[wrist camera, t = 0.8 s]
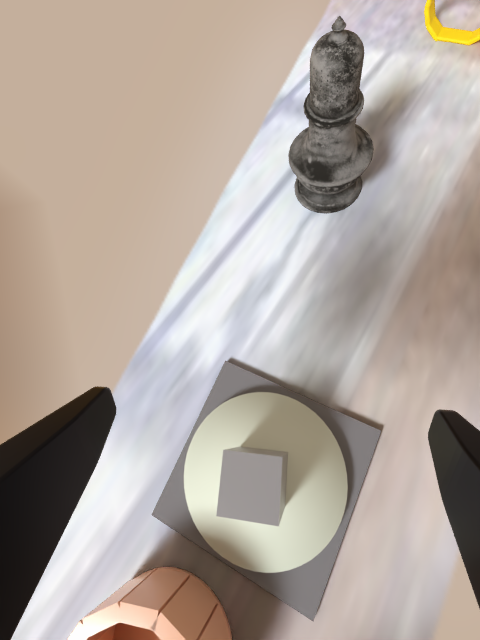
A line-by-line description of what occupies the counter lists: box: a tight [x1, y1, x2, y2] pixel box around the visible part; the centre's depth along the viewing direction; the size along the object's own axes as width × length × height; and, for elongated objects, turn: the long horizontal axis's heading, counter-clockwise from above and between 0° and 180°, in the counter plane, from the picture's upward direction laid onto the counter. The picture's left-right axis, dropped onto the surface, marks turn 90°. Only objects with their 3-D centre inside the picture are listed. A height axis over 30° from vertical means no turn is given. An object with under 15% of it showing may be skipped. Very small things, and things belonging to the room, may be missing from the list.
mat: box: [152, 361, 381, 621], centre depth 22 cm, size 11×11×1 cm
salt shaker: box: [289, 16, 373, 213], centre depth 22 cm, size 6×6×12 cm
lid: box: [184, 392, 348, 573], centre depth 19 cm, size 10×10×5 cm
